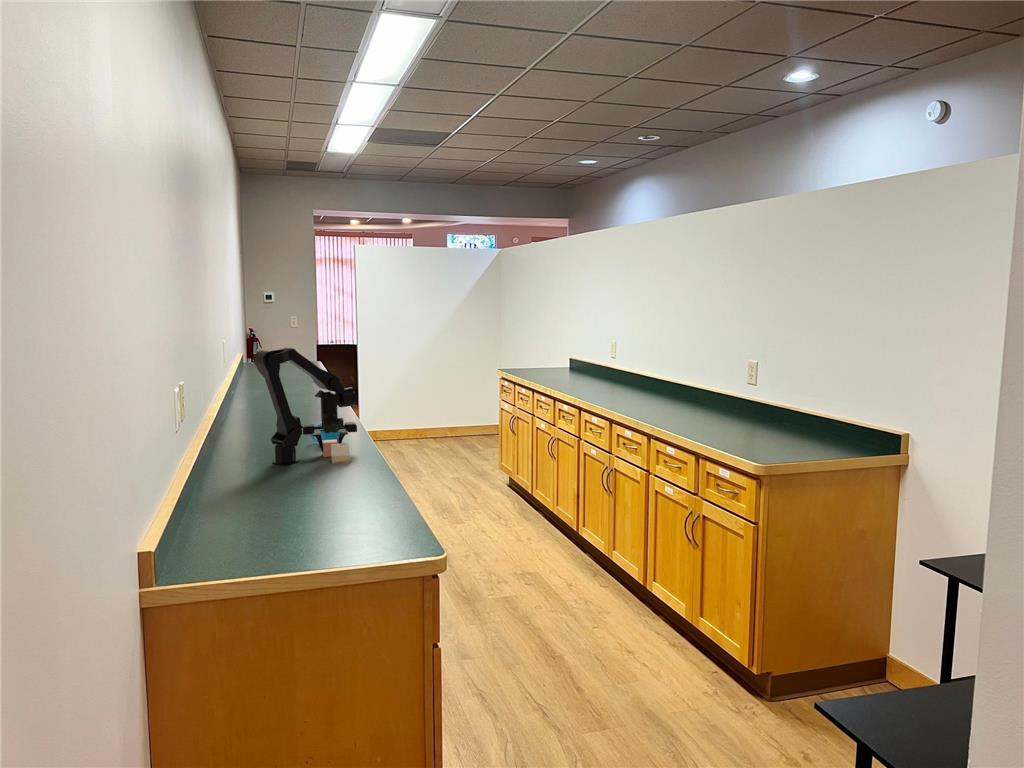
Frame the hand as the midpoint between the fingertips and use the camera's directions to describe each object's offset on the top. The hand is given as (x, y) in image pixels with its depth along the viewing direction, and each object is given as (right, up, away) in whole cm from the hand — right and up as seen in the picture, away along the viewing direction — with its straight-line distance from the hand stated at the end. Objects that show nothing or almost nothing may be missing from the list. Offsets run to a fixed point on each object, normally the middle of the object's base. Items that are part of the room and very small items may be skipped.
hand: (330, 451), depth 267 cm
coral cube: (0, -1, 0) cm, 1 cm away
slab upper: (+6, 0, -10) cm, 12 cm away
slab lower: (+6, -3, -10) cm, 12 cm away
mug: (-6, +1, +20) cm, 21 cm away
